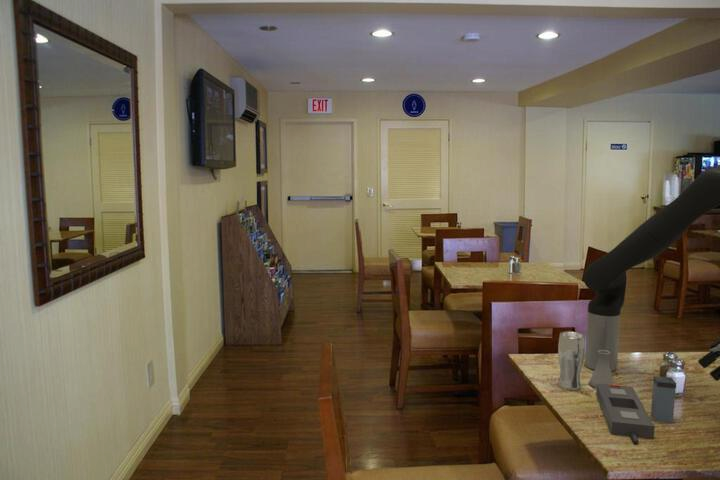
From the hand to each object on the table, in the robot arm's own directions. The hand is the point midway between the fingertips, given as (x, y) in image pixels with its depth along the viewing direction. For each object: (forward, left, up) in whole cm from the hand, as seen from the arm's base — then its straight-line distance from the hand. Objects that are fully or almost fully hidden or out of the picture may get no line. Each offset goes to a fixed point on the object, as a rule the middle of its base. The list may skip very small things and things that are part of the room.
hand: (706, 371), depth 137 cm
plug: (0, -9, -13) cm, 16 cm away
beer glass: (-16, -29, -13) cm, 36 cm away
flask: (-19, -20, -13) cm, 31 cm away
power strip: (+2, -18, -13) cm, 22 cm away
